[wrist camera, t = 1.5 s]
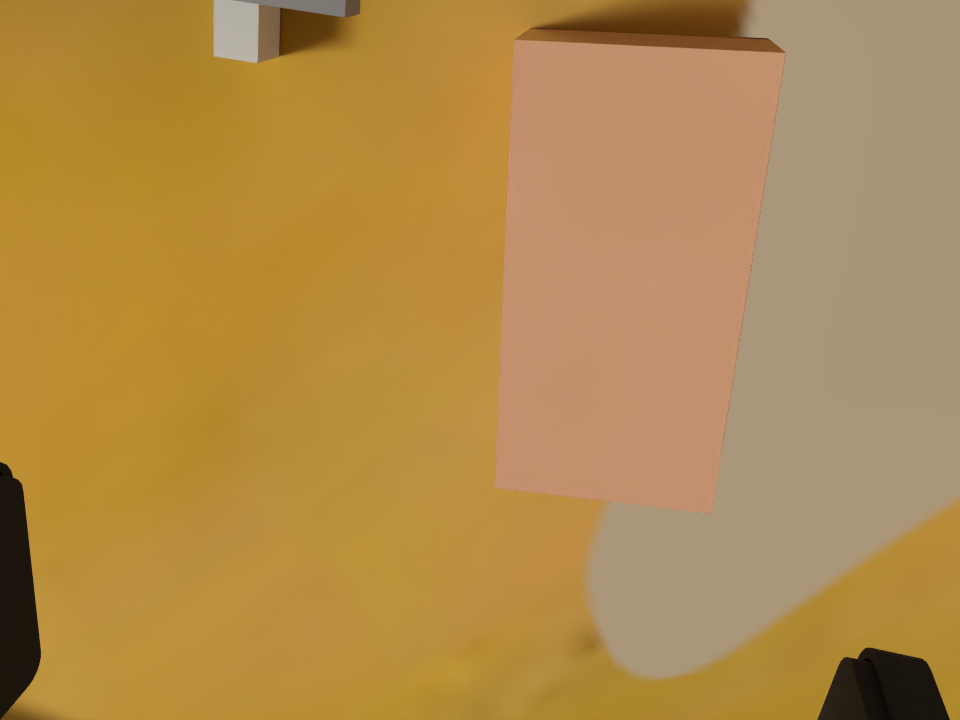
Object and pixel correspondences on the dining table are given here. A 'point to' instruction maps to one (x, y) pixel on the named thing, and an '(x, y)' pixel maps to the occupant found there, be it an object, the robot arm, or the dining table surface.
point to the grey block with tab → (263, 24)
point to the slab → (628, 259)
